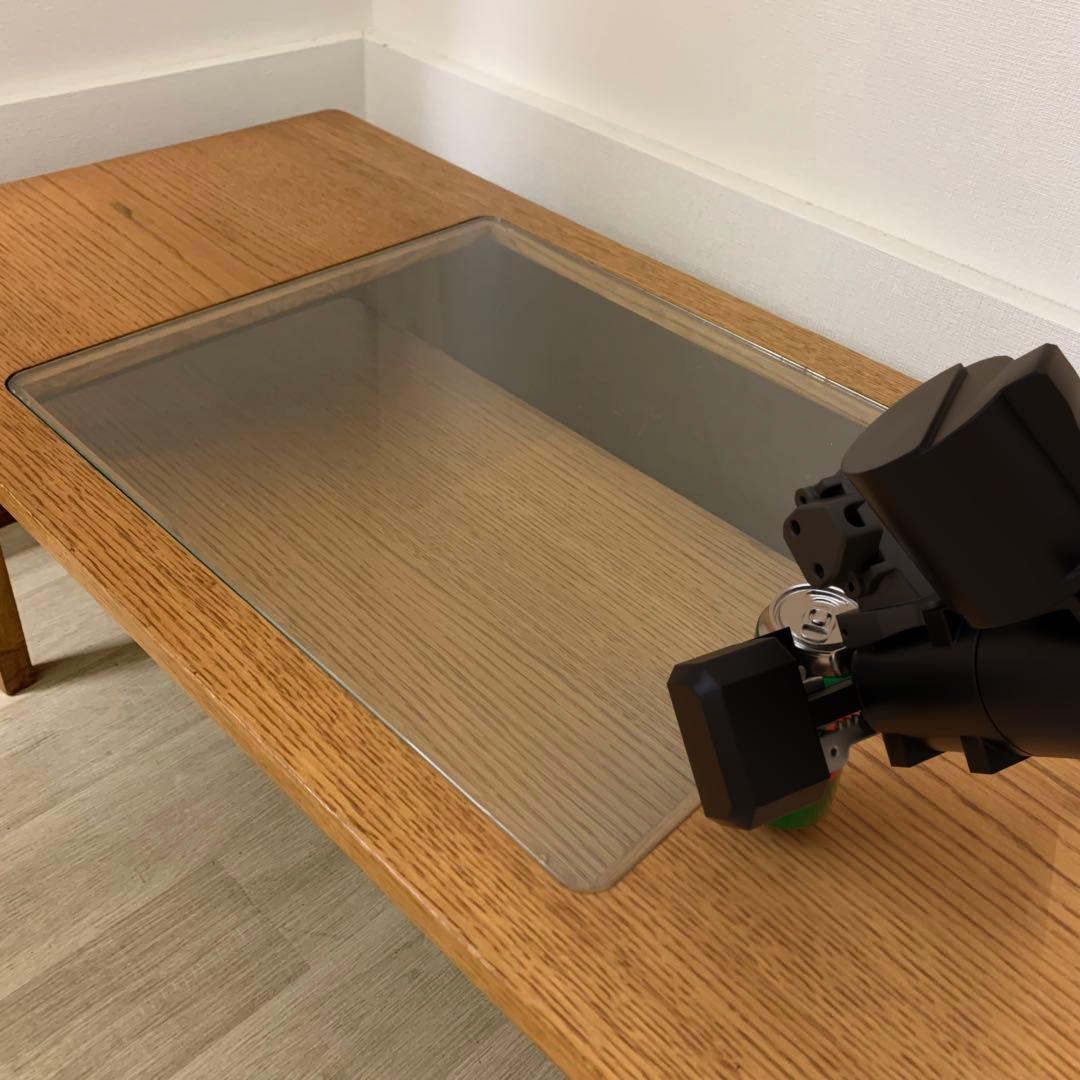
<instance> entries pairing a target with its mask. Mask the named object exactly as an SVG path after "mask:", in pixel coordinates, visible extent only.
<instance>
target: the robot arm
mask: <svg viewBox="0 0 1080 1080" xmlns="http://www.w3.org/2000/svg"><path fill="white" fill-rule="evenodd" d="M839 467H840V468H839V469H838V470H837V471H836V472H835V474H833V475H829V476H827V477H824V478H821V479H820V481H819V482H817V483H814V484H811V485H807V486H804V487H799V488H797V489H796V490H795V493H794V504H795V506H796V507H795V509H793V511H792V512H791V513H790V514H789V515H788V516H787V517H786V518H785V519H784V521H783V524H782V536H783V540H784V542H785V544H786V546H787V547H788V549H789V552H790V553H791V556H792V557H793V559H794V561H795V562H796V564H797V566H798V568H799V569H800V571H801V573H802V575H803V577H804V579H805V581H806V583H808V584H810V585H811V586H812V587H814V588H816V589H819V590H822V589H825V588H828V587H831V586H835V587H838V588H840V589H842V590H843V592H844V593H845V595H846V596H847V597H848V598H849V599H852V600H853V601H855V602H856V603H857V605H858V608H856V609H852V610H849V611H846V612H843V613H840V614H837V615H835V617H836V620H837V623H838V627H839V630H840V633H841V637H842V640H843V644H844V646H845V647H843V648H840V649H838V650H835V651H832V652H831V653H830V654H829V662H830V666H831V669H832V672H833V674H834V675H835V677H836V678H842V677H844V675H850V674H851V677H850V678H847V679H844V680H842V681H839V682H836V683H834V684H831V685H829V686H826V687H825V684H824V680H823V677H822V676H817V677H809V678H807V679H805V677H806V670H805V668H804V667H803V666H801V663H800V659H799V656H798V653H797V649H796V646H795V642H794V639H793V636H792V632H791V629H790V627H789V626H788V627H785V628H782V629H779V630H776V631H773V632H771V633H768V634H765V635H762V636H759V637H756V638H754V637H753V638H751V639H747V640H744V641H742V642H738V643H735V644H730V645H728V646H725V647H721V648H719V649H717V650H713V651H711V652H707V653H705V654H702V655H699V656H696V657H694V658H690V659H688V660H685V661H682V662H678V663H675V664H674V666H673V667H672V670H671V672H670V675H669V677H668V679H667V681H666V687H667V691H668V696H669V699H670V701H671V704H672V708H673V712H674V715H675V719H676V722H677V726H678V728H679V732H680V735H681V739H682V742H683V745H684V749H685V752H686V756H687V759H688V763H689V766H690V769H691V772H692V776H693V780H694V783H695V786H696V787H695V788H696V790H697V793H698V796H699V800H700V803H701V807H702V811H703V814H704V817H705V818H707V819H708V820H711V822H712V821H713V822H714V823H716V824H718V825H720V826H721V827H726V828H730V829H735V830H741V831H745V832H750V831H752V830H755V829H758V828H759V827H762V826H765V825H764V824H767V823H769V822H771V821H774V820H776V819H778V818H781V817H783V816H785V815H788V814H790V813H792V812H795V811H797V810H800V809H802V808H804V807H807V806H809V805H811V804H814V803H816V802H818V801H821V800H823V798H824V795H825V792H826V790H827V787H828V784H829V781H830V778H831V774H833V773H834V772H836V771H838V770H840V769H842V768H843V769H844V768H845V766H846V765H847V764H848V762H849V759H850V750H851V748H852V746H854V745H856V744H858V743H861V742H864V741H866V740H868V739H870V738H873V737H875V736H878V735H880V734H881V737H882V741H883V744H884V747H885V751H886V755H887V758H888V760H889V764H890V767H893V768H902V769H903V768H904V769H910V768H912V767H915V766H917V765H920V764H922V763H924V762H926V761H930V760H931V759H933V758H936V757H938V756H941V755H943V754H945V753H947V752H948V753H963V754H964V756H965V761H966V764H967V767H968V770H969V773H970V774H977V775H990V776H992V775H994V774H997V773H999V772H1001V771H1004V770H1006V769H1008V768H1010V767H1012V766H1015V765H1017V764H1019V763H1022V762H1024V761H1026V760H1028V759H1030V758H1032V757H1033V758H1034V757H1035V758H1051V759H1052V758H1053V759H1068V760H1069V759H1070V760H1080V376H1079V374H1078V372H1077V370H1076V369H1075V368H1074V366H1073V365H1072V364H1071V362H1070V361H1069V359H1068V358H1067V357H1066V356H1065V354H1064V353H1063V351H1062V350H1061V348H1060V347H1059V346H1058V345H1057V344H1055V343H1050V342H1045V343H1044V344H1041V345H1039V346H1038V347H1036V348H1034V349H1032V350H1030V351H1028V352H1027V353H1025V354H1023V355H1021V356H1019V357H1017V358H1016V359H1014V358H1013V357H1011V356H1009V355H1006V354H1005V355H995V356H991V357H987V358H984V359H981V360H978V361H976V362H973V363H970V364H968V365H965V366H964V364H963V363H962V362H957V363H956V364H954V365H952V366H950V367H948V368H946V369H945V370H943V371H941V372H939V373H938V374H936V375H935V376H933V377H931V378H930V379H927V380H926V381H924V382H922V383H921V384H920V385H918V386H917V387H916V388H914V389H913V390H911V391H910V392H908V393H907V394H905V395H904V396H903V397H901V398H900V399H898V400H897V401H896V402H895V403H893V405H891V406H889V407H888V408H887V409H885V411H883V412H882V413H881V414H880V415H879V416H878V417H876V418H875V419H874V420H873V421H872V422H871V423H870V424H869V425H868V426H867V427H866V428H865V429H864V430H862V432H861V433H860V434H859V435H858V436H857V438H855V439H854V441H853V442H852V444H851V445H850V446H849V447H848V448H847V450H846V451H845V453H844V454H843V456H842V459H841V462H840V466H839ZM856 712H859V715H858V714H853V713H856ZM851 714H852V715H851ZM848 715H851V718H850V717H846V716H848ZM843 717H844V718H843ZM841 718H843V722H842V720H838V719H841ZM836 720H837V721H836ZM833 725H835V729H834V730H831V729H826V728H828V727H831V726H833Z"/></svg>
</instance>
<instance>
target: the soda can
mask: <svg viewBox="0 0 1080 1080" xmlns="http://www.w3.org/2000/svg"><path fill="white" fill-rule="evenodd" d="M856 608H858V605H857V603H856V602H855V601H853V600H852V599H849V598H848V597H847V596H846V595H845V593H844V592H843V590H842V589H840V588H839V587H835V586H831V587H828V588H825V589H822V590H819V589H816V588H814V587H812V586H811V585H810V584H808V582H801V583H797V584H796V583H795V584H792V585H790V586H787V587H785V588H783V589H781V590H780V591H778V592H777V593H776V594H775V596H774V597H773V598H772V600H771V601H770V603H769V604H768V605H767V606H766V607H765V608H764V609H763V610H762V612H761V613H760V614H759V616H758V617H757V618H758V619H757V621H756V624H755V625H756V626H755V631H754V637H753V638H756V637H759V636H762V635H765V634H768V633H771V632H773V631H776V630H779V629H782V628H785V627H788V626H789V627H790V629H791V632H792V636H793V639H794V642H795V646H796V649H797V653H798V656H799V659H800V663H801V666H803V667H804V668H805V670H806V677H805V679H807V678H809V677H817V676H822V677H823V680H824V684H825V687H826V686H829V685H831V684H834V683H836V682H839V681H842V680H844V679H847V678H850V677H851V674H850V675H844V677H842V678H836V677H835V675H834V674H833V672H832V669H831V666H830V662H829V654H830V653H831V652H832V651H835V650H838V649H840V648H843V647H845V646H844V644H843V640H842V637H841V633H840V630H839V627H838V623H837V620H836V617H835V615H837V614H840V613H843V612H846V611H849V610H852V609H856ZM853 714H858V715H859V712H856V713H853ZM851 715H852V714H851ZM851 715H848V716H846V717H850V718H851ZM843 718H844V717H843ZM843 718H841V719H838V720H842V722H843ZM836 721H837V720H836ZM826 729H831V730H834V729H835V725H833V726H831V727H828V728H826ZM843 769H844V767H843V768H842V769H840V770H838V771H836V772H834V773H833V774H831V778H830V781H829V784H828V787H827V790H826V792H825V795H824V798H823V800H821V801H818V802H816V803H814V804H811V805H809V806H807V807H804V808H802V809H800V810H797V811H795V812H792V813H790V814H788V815H785V816H783V817H781V818H778V819H776V820H774V821H771V822H769V823H767V824H764V825H763V826H767V827H769V828H772V829H777V830H787V831H790V830H792V831H793V830H801V829H806V828H808V827H811V826H813V825H817V823H819V822H821V821H822V820H823V819H824V818H825V817H827V815H828V814H829V812H830V811H831V808H832V806H833V805H834V801H835V798H836V794H837V791H838V786H839V784H840V779H841V776H842V773H843Z"/></svg>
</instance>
